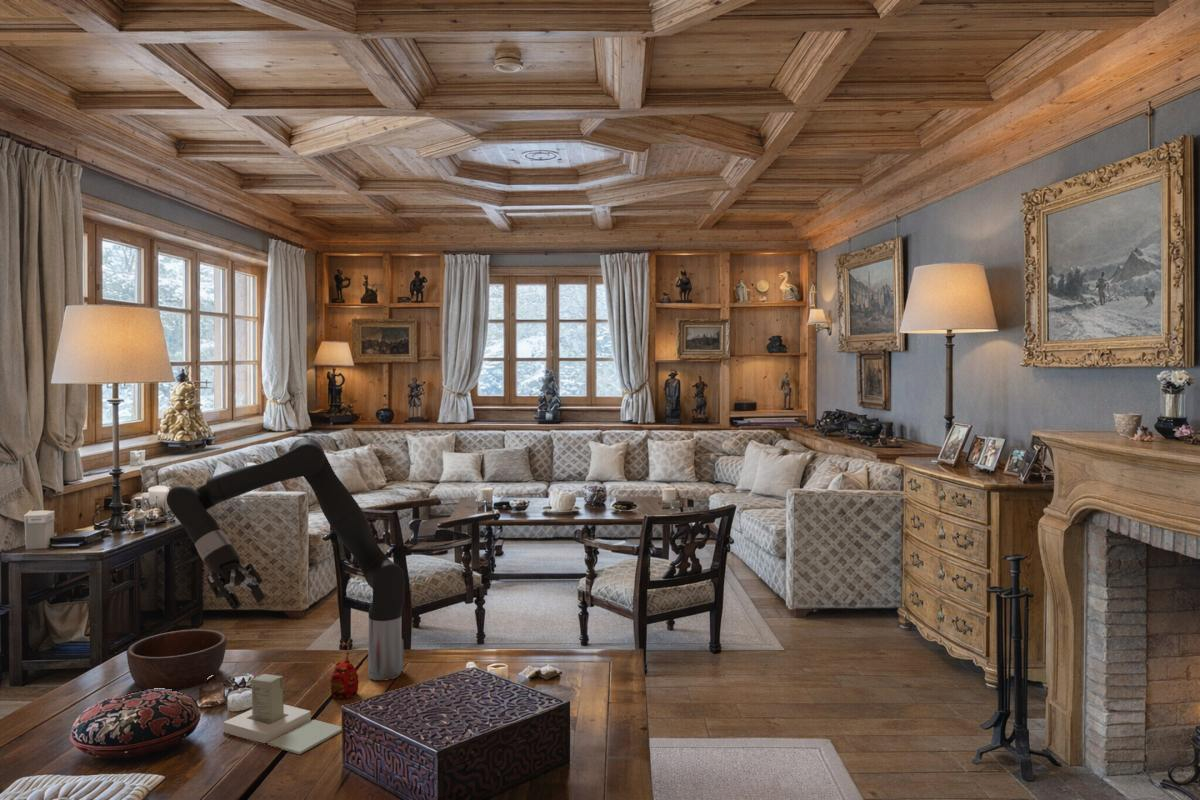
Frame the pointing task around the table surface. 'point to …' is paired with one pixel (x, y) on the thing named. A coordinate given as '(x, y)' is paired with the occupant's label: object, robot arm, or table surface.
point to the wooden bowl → (176, 658)
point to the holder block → (263, 731)
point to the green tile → (306, 736)
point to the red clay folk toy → (344, 679)
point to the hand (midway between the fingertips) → (250, 604)
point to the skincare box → (267, 698)
